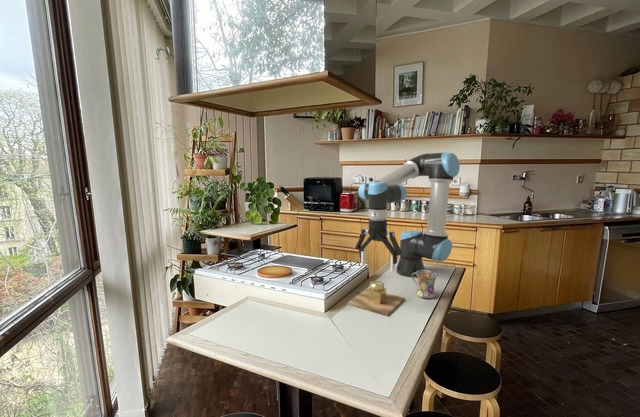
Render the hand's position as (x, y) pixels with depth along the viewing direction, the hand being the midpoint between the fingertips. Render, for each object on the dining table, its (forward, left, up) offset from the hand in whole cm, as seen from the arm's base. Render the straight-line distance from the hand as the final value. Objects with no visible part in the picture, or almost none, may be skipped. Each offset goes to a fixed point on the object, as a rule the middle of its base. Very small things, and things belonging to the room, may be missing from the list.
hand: (377, 268), depth 131 cm
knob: (0, 0, -14) cm, 14 cm away
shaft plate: (0, 0, -15) cm, 15 cm away
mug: (-19, +14, -16) cm, 28 cm away
